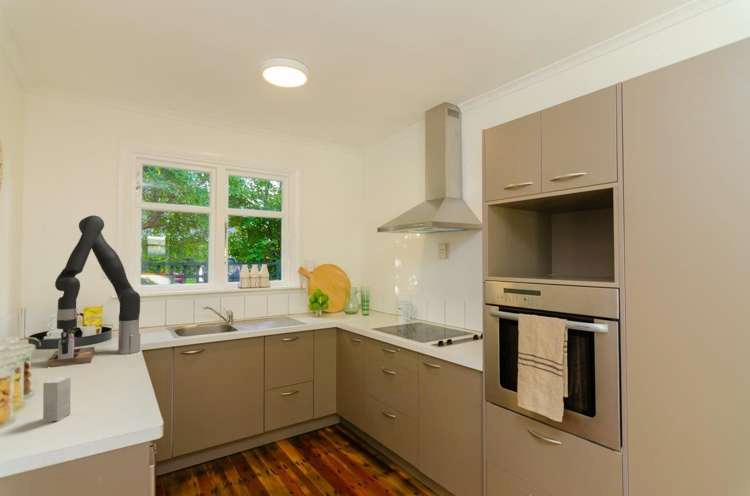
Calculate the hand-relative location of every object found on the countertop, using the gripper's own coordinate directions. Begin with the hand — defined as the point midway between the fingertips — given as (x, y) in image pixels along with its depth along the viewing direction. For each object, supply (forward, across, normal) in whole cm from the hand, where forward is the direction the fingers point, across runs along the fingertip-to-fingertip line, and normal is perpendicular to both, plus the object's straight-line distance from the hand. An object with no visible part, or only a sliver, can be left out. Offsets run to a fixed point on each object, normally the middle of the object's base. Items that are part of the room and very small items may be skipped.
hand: (66, 352), depth 188 cm
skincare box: (+5, +82, +6) cm, 83 cm away
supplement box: (+5, 0, 0) cm, 5 cm away
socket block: (+5, -6, +2) cm, 8 cm away
